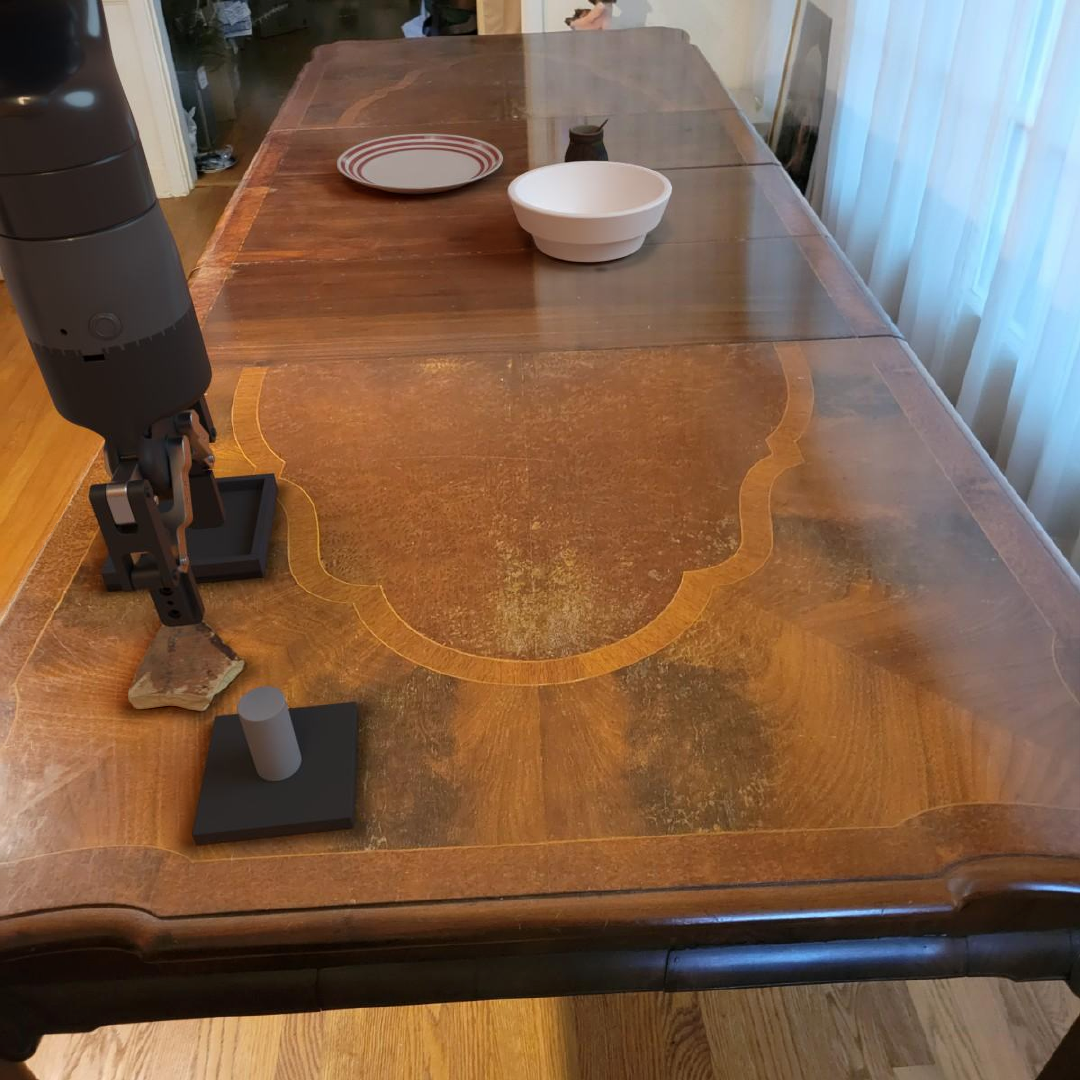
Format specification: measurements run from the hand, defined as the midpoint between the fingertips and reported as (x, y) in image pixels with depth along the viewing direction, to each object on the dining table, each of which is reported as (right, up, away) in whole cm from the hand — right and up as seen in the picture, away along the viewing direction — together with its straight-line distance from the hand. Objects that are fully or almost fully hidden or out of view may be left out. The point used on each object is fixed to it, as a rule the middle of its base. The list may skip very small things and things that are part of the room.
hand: (197, 570), depth 56 cm
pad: (+2, -14, +11) cm, 18 cm away
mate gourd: (+27, +61, +105) cm, 125 cm away
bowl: (+27, +43, +83) cm, 97 cm away
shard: (-8, -8, +19) cm, 23 cm away
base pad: (-11, +2, +32) cm, 34 cm away
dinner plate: (0, +63, +109) cm, 126 cm away
